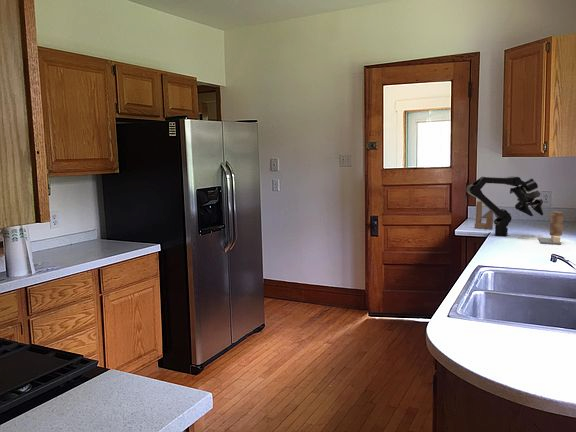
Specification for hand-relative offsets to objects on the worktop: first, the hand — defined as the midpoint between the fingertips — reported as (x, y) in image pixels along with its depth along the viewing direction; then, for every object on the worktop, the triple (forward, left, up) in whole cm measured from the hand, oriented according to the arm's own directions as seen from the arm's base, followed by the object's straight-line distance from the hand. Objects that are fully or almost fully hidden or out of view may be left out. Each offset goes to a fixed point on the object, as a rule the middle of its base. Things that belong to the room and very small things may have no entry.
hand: (537, 215), depth 289 cm
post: (+9, -9, -10) cm, 16 cm away
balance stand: (+6, -9, -14) cm, 17 cm away
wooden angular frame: (-29, +30, -14) cm, 44 cm away
